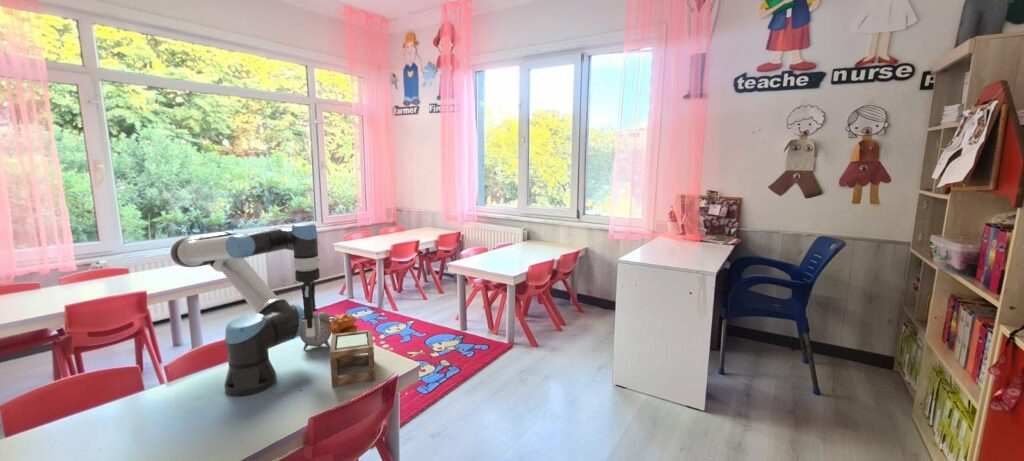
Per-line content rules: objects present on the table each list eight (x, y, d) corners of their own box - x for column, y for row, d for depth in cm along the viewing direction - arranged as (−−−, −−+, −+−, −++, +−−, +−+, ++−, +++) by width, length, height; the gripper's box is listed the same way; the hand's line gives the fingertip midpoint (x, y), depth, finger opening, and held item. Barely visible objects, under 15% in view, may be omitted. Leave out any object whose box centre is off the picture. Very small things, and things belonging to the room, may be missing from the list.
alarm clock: (300, 351, 171) (297, 316, 169) (304, 344, 178) (301, 310, 175) (331, 348, 174) (329, 313, 172) (334, 342, 181) (332, 308, 178)
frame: (331, 387, 145) (329, 352, 143) (334, 365, 160) (331, 334, 158) (375, 380, 150) (373, 346, 148) (373, 360, 165) (371, 329, 163)
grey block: (303, 337, 147) (302, 321, 146) (304, 332, 151) (303, 316, 150) (319, 335, 148) (318, 319, 147) (320, 330, 153) (319, 314, 152)
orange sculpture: (354, 363, 162) (351, 318, 159) (325, 362, 162) (322, 317, 159) (364, 350, 173) (362, 307, 170) (338, 349, 173) (335, 307, 170)
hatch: (336, 350, 148) (336, 348, 147) (337, 339, 157) (337, 336, 157) (367, 346, 151) (367, 344, 151) (367, 335, 161) (366, 333, 161)
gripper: (317, 274, 139) (321, 341, 143) (321, 261, 155) (324, 322, 159) (291, 276, 136) (296, 344, 140) (298, 263, 153) (302, 324, 157)
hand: (311, 332), depth 150 cm, fingers closed on grey block, 5 cm apart
